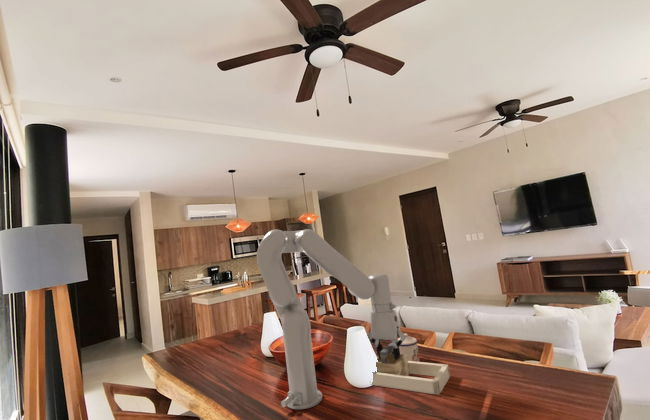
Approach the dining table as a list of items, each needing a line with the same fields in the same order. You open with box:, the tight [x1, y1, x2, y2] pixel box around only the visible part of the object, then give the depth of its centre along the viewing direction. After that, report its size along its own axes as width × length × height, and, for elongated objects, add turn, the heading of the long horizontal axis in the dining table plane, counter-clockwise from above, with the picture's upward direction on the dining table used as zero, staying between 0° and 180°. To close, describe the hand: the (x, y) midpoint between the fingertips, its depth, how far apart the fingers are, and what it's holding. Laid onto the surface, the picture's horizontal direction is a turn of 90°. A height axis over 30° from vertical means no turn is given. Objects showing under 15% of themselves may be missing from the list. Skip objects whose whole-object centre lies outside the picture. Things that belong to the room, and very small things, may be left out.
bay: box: [370, 361, 451, 396], centre depth 117 cm, size 16×24×5 cm, turn 56°
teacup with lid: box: [397, 333, 421, 362], centre depth 137 cm, size 12×9×12 cm
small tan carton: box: [376, 342, 411, 376], centre depth 121 cm, size 10×10×11 cm
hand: (389, 357), depth 121 cm, fingers open, 5 cm apart
